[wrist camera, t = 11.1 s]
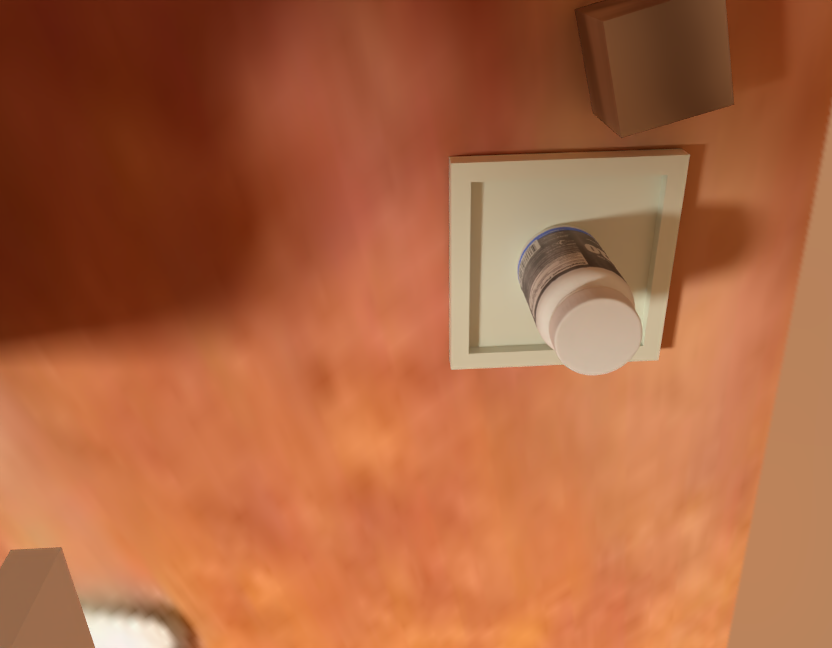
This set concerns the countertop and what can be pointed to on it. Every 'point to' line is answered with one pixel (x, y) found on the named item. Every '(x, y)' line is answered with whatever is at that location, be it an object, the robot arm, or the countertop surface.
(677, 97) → the walnut cube
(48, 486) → the countertop surface
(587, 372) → the pill bottle
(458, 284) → the tray
